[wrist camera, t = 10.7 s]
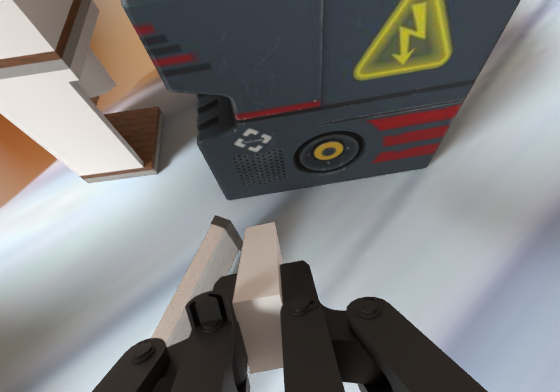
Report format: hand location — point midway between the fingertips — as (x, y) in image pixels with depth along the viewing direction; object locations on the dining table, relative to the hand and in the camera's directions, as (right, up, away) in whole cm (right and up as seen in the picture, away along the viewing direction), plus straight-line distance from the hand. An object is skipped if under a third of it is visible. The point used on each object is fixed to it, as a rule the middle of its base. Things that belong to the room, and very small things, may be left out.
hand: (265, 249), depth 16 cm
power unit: (+5, +16, +34) cm, 38 cm away
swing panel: (-8, -11, +19) cm, 23 cm away
